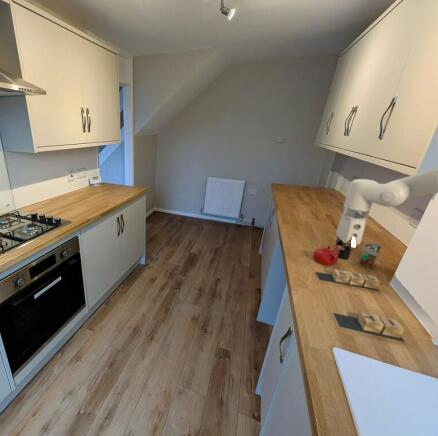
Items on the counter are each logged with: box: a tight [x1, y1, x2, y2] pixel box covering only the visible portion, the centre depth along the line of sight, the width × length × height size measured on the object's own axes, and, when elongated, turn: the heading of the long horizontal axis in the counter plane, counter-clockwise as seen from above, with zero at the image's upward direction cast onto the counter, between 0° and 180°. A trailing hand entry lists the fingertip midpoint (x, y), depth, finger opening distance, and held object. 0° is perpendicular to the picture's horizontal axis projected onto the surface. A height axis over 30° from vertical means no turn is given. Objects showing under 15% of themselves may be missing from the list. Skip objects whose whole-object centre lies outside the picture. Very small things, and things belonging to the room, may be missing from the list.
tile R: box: [331, 268, 350, 284], centre depth 104 cm, size 4×4×4 cm
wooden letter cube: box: [347, 271, 365, 286], centre depth 102 cm, size 4×4×4 cm
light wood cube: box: [361, 273, 380, 289], centre depth 101 cm, size 4×4×4 cm
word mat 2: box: [332, 312, 406, 343], centre depth 80 cm, size 17×7×1 cm, turn 69°
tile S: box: [332, 244, 353, 260], centre depth 94 cm, size 4×4×4 cm
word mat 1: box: [315, 271, 380, 292], centre depth 104 cm, size 21×7×1 cm, turn 69°
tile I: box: [378, 315, 405, 338], centre depth 77 cm, size 4×4×4 cm
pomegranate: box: [312, 245, 339, 267], centre depth 118 cm, size 10×10×9 cm
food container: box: [359, 242, 383, 270], centre depth 117 cm, size 12×6×10 cm, turn 130°
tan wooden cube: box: [358, 311, 384, 333], centre depth 79 cm, size 4×4×4 cm
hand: (340, 255), depth 95 cm, fingers closed on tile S, 4 cm apart
